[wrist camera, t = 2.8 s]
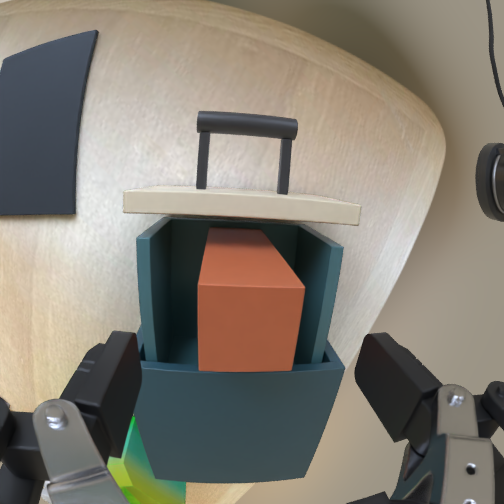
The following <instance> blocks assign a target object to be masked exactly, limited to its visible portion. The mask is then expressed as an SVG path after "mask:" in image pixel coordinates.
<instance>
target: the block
mask: <svg viewBox="0 0 504 504" xmlns="http://www.w3.org/2000/svg"><path fill="white" fill-rule="evenodd" d="M304 294H305V286H304V285H303V284H302V282H301V281H300V280H299V278H298V277H297V276H296V274H295V273H294V272H293V270H292V269H291V268H290V266H289V265H288V264H287V262H286V261H285V260H284V259H283V257H282V256H281V255H280V253H279V252H278V251H277V249H276V248H275V247H274V246H273V244H272V243H271V242H270V240H269V239H268V238H267V236H266V235H265V234H264V233H263V231H262V230H261V229H242V228H222V227H209V232H208V236H207V241H206V246H205V251H204V256H203V261H202V266H201V271H200V276H199V281H198V363H199V371H212V372H273V371H291V370H292V366H293V360H294V355H295V349H296V344H297V338H298V332H299V326H300V320H301V313H302V307H303V300H304Z"/></svg>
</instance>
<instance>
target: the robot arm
mask: <svg viewBox="0 0 504 504" xmlns="http://www.w3.org/2000/svg"><path fill="white" fill-rule="evenodd" d="M486 3H487V11H488V22H489V53H490V60H491V64H492V69H493V74H494V79H495V84H496V87H497V91H498V94H499V97H500V100H501V102H502V105H503V107H504V97H503V94H502V90H501V87H500V83H499V78H498V73H497V68H496V63H495V59H494V50H493V43H494V35H493V22H492V13H491V6H490V0H486ZM490 186H491V194H492V198H493V201H494V204H495V206H496V208H497V209H498V211H499V212H501V213H504V148H497V149H496V156H495V158H494V160H493V163H492V167H491V175H490ZM355 380H356V383H357V385H358V386H359V388H360V389H361V391H362V392H363V394H364V396H365V397H366V399H367V400H368V402H369V403H370V405H371V407H372V408H373V410H374V411H375V413H376V414H377V416H378V418H379V419H380V421H381V422H382V424H383V425H384V427H385V429H386V430H387V432H388V433H389V435H390V437H391V438H392V439H393V441H394V442H398V441H401V440H404V439H408V440H409V443H408V444H407V446H406V448H405V452H404V457H403V462H402V466H401V471H400V475H399V479H398V483H397V486H396V489H395V491H394V493H393V495H392V496H391V498H390V499H389V498H388V497H387V495H386V493H385V491H384V492H381V493H378V494H375V495H373V496H369V497H367V498H363V499H360V500H357V501H353V502H349V503H347V504H504V458H503V456H502V455H501V454H500V452H499V451H498V450H497V448H496V447H495V446H494V444H493V443H492V441H491V440H490V438H491V436H492V435H493V434H494V433H495V431H496V430H497V428H498V427H499V426H500V427H501V428H502V429H503V430H504V382H500V381H494V382H491V383H490V384H489V385H488V387H487V389H486V391H485V392H484V394H482V395H472V394H471V393H470V392H469V391H468V390H467V389H465V388H464V387H462V386H459V385H456V384H447V385H442V383H441V382H440V381H439V380H438V379H437V378H436V377H435V376H434V375H433V374H432V373H431V372H430V371H429V370H428V369H427V368H426V367H425V366H424V365H422V363H421V362H420V361H419V360H418V359H416V357H415V356H414V355H413V354H412V353H411V352H410V351H409V350H408V349H406V348H404V347H403V346H401V345H399V344H398V343H397V342H396V341H394V339H393V338H392V337H391V336H390V335H389V334H387V333H386V332H383V333H373V334H367V335H366V336H365V337H364V340H363V343H362V347H361V350H360V354H359V357H358V360H357V363H356V367H355ZM141 384H142V368H141V362H140V355H139V348H138V341H137V336H136V334H135V333H132V332H122V331H113V332H112V333H111V335H110V337H109V338H108V340H107V342H106V343H105V344H101V343H99V344H97V345H96V346H94V347H93V348H91V349H90V350H89V351H88V352H87V353H86V355H85V357H84V358H83V360H82V362H81V363H80V365H79V366H78V368H77V370H76V371H75V373H74V374H73V376H72V378H71V379H70V381H69V383H68V384H67V386H66V388H65V389H64V391H63V393H62V394H61V396H60V398H59V399H51V400H48V401H45V402H43V403H41V404H40V405H39V406H38V407H37V408H36V409H35V411H34V413H31V412H14V411H10V409H9V407H8V405H7V403H6V402H5V401H4V399H2V398H1V397H0V461H1V462H2V463H3V464H2V466H1V469H0V504H39V500H40V496H41V493H42V490H43V486H44V483H45V481H50V483H48V484H47V492H48V495H49V497H50V500H51V502H52V504H130V503H129V501H128V500H127V498H126V497H125V495H124V494H123V492H122V491H121V489H120V487H119V486H118V484H117V483H116V481H115V479H114V478H113V476H112V474H111V473H110V471H109V469H108V468H107V463H108V460H109V456H110V457H114V458H119V459H121V457H122V453H123V449H124V446H125V442H126V438H127V434H128V430H129V427H130V423H131V419H132V416H133V412H134V409H135V405H136V402H137V398H138V395H139V392H140V388H141Z"/></svg>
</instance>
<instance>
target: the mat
mask: <svg viewBox="0 0 504 504" xmlns="http://www.w3.org/2000/svg"><path fill="white" fill-rule="evenodd" d="M97 35H98V31H97V30H93V31H88V32H84V33H80V34H75V35H72V36H68V37H64V38H61V39H57V40H54V41H51V42H48V43H44V44H41V45H38V46H36V47H33V48H30V49H27V50H25V51H22V52H20V53H17V54H15V55H12V56H10V57H7V58H5V59H4V60H3V64H2V67H1V71H0V215H48V214H75V213H76V202H75V197H76V163H77V148H78V137H79V128H80V119H81V112H82V105H83V99H84V93H85V87H86V82H87V77H88V72H89V67H90V63H91V58H92V54H93V50H94V46H95V43H96V39H97Z"/></svg>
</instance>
